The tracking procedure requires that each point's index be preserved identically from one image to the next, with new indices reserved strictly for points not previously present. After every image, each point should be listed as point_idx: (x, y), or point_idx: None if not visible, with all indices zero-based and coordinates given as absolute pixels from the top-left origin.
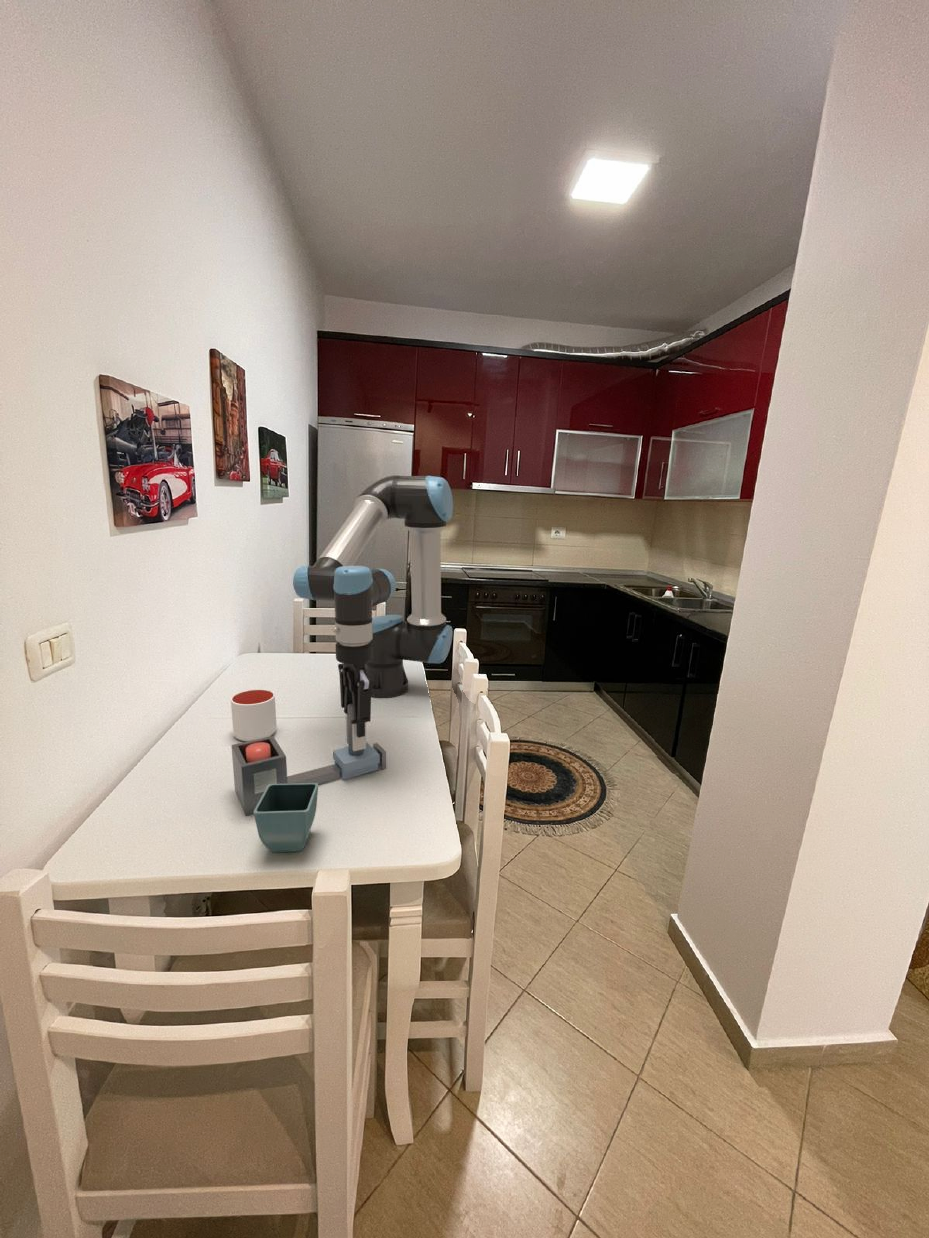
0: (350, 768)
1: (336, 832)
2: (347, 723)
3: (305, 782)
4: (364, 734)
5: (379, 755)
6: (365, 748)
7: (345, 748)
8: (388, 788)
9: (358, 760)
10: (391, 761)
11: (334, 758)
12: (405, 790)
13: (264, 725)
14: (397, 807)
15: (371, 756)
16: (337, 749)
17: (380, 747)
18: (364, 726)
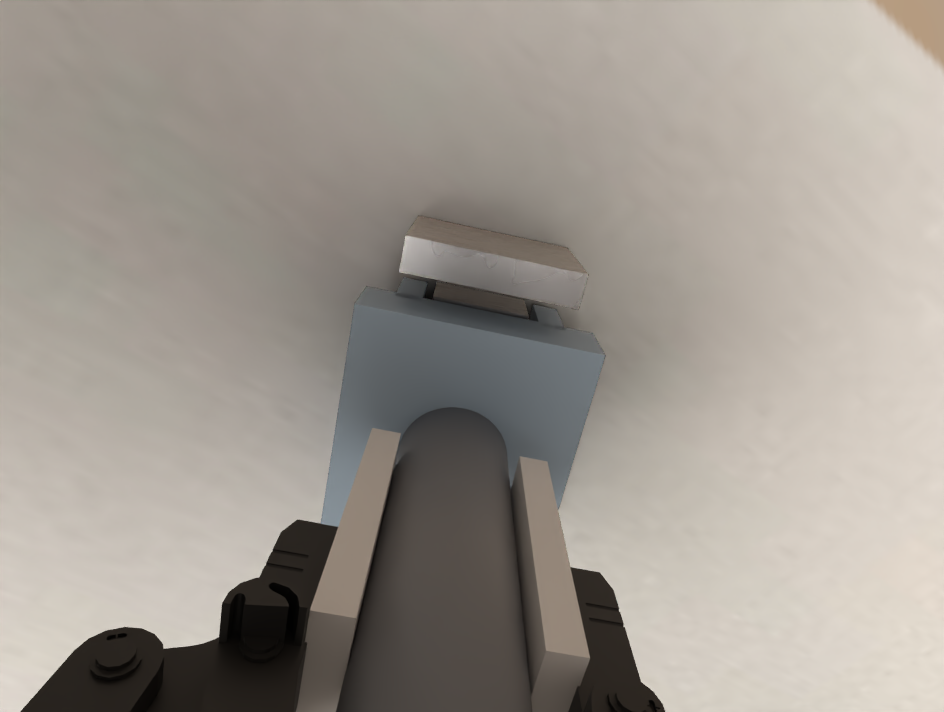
0: None
1: (816, 704)
2: None
3: None
4: (611, 595)
5: (605, 355)
6: (446, 375)
7: (349, 476)
8: (752, 376)
9: (560, 502)
10: (518, 160)
11: None
12: (848, 319)
13: None
14: (918, 446)
15: (581, 412)
16: (326, 519)
17: (495, 264)
18: (632, 664)
